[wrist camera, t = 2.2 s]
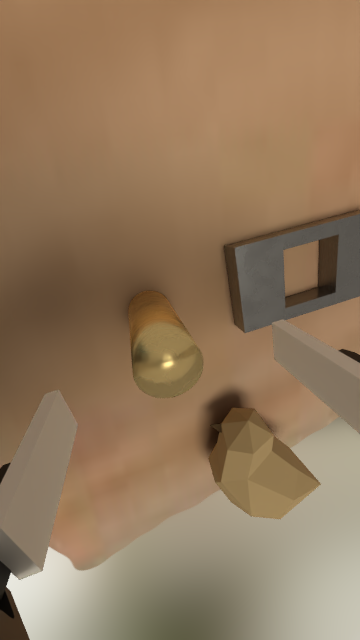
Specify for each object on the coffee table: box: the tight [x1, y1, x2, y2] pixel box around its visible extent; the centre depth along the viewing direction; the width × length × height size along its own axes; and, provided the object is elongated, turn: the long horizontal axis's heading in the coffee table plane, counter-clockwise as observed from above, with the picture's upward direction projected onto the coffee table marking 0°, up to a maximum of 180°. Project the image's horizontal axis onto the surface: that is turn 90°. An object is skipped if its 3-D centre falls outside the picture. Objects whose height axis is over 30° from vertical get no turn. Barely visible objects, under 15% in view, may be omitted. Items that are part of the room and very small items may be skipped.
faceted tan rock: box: [209, 408, 321, 519], centre depth 29 cm, size 15×11×12 cm
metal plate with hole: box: [224, 210, 360, 333], centre depth 25 cm, size 16×9×2 cm, turn 103°
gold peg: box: [128, 291, 203, 398], centre depth 19 cm, size 4×4×11 cm
